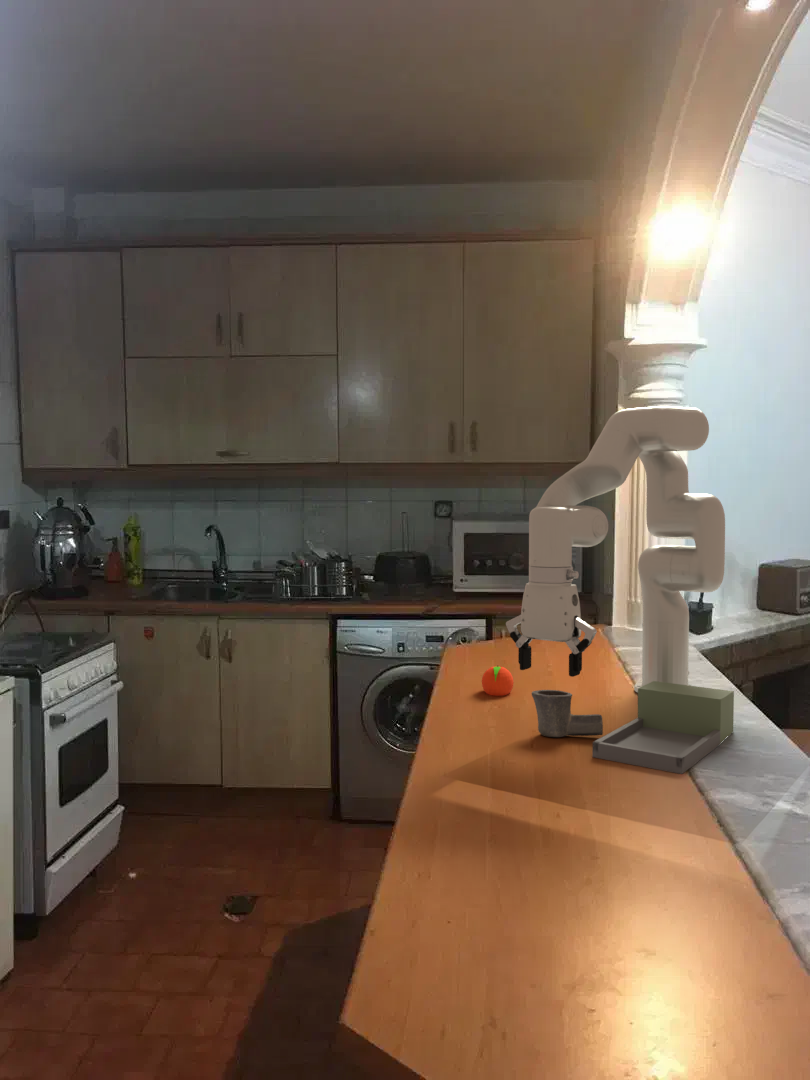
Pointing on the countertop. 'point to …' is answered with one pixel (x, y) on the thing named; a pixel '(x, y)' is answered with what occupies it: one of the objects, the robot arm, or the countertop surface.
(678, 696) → the gray tray
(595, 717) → the pipe
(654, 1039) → the countertop surface
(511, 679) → the clementine
